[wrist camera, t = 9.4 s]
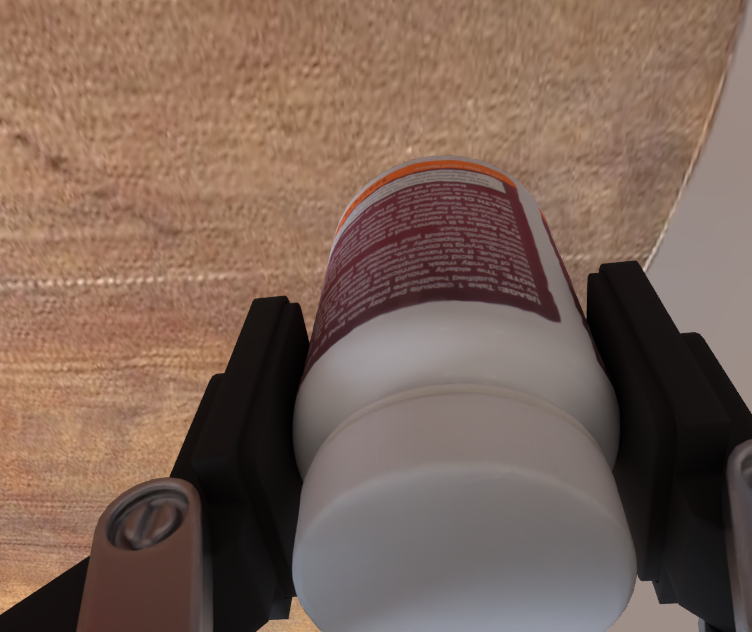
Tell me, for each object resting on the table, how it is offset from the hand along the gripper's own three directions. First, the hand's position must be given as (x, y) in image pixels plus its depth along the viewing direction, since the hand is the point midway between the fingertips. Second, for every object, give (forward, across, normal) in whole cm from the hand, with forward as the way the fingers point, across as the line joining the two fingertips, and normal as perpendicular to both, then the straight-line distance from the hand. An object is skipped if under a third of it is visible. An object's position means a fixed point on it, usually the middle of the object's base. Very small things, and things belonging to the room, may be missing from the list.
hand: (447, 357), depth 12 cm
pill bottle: (+4, 0, 0) cm, 4 cm away
